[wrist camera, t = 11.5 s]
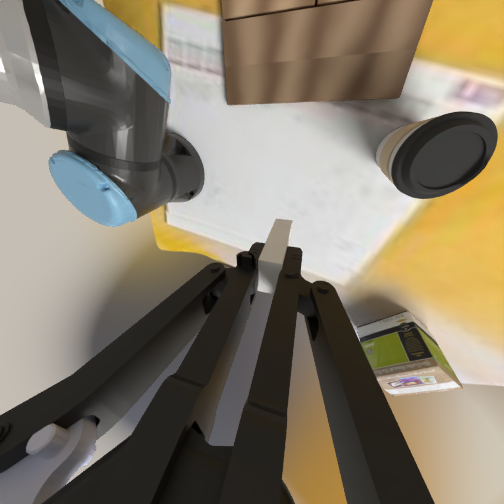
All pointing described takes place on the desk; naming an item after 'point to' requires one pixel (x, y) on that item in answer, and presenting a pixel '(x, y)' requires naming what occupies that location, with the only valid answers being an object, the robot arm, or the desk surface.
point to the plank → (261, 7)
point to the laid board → (323, 52)
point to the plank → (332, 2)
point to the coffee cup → (437, 153)
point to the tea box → (406, 356)
